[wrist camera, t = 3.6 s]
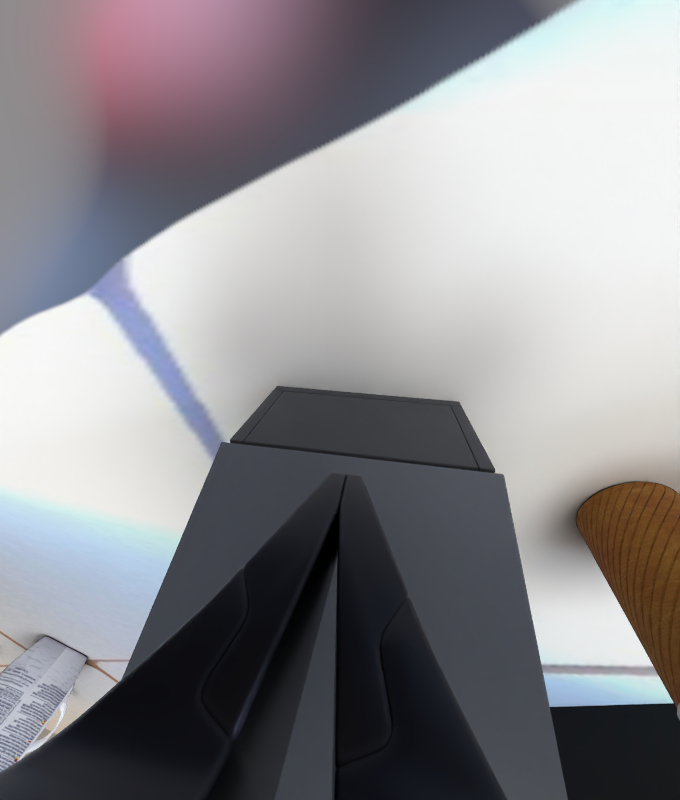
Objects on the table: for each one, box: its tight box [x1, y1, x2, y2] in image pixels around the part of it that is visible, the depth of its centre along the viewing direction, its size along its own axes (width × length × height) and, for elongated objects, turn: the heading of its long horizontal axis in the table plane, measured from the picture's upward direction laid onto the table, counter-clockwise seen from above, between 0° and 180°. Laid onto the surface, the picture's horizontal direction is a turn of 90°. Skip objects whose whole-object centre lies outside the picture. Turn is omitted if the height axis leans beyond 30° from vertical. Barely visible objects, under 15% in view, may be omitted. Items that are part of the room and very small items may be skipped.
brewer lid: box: [122, 442, 568, 800], centre depth 8 cm, size 14×12×1 cm
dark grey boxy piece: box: [230, 386, 495, 473], centre depth 19 cm, size 13×12×7 cm
